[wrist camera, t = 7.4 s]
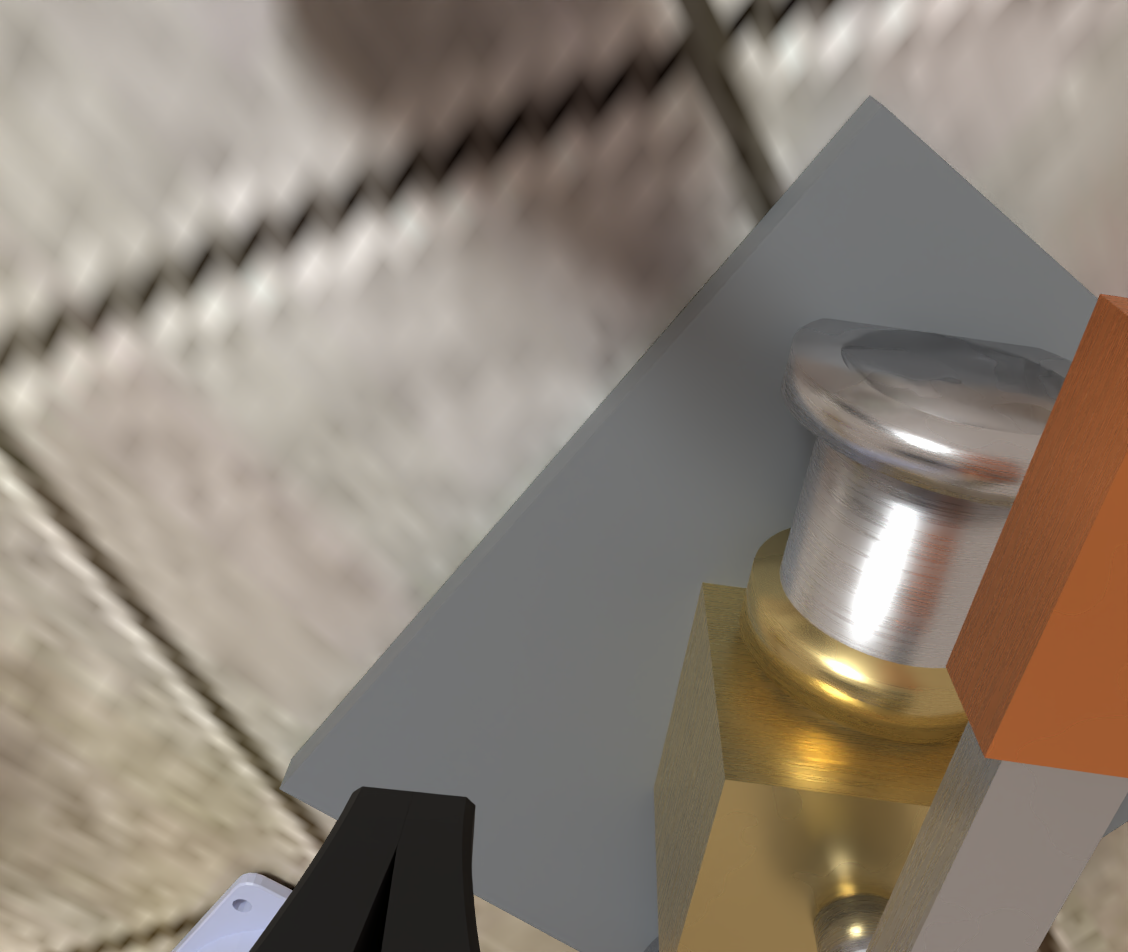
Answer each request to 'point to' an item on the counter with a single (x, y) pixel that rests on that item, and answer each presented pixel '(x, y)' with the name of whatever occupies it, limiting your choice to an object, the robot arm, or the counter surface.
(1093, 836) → the lever
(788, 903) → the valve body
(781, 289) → the mounting board
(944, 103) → the counter surface
